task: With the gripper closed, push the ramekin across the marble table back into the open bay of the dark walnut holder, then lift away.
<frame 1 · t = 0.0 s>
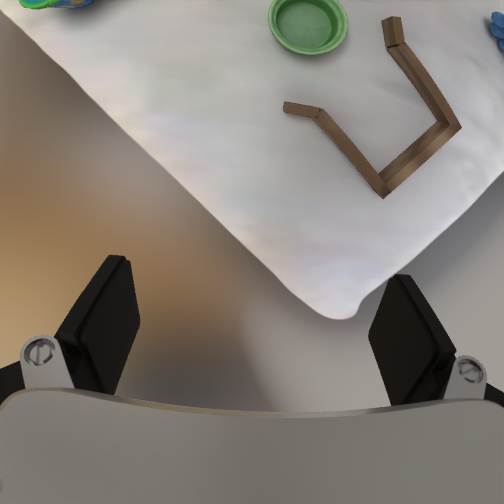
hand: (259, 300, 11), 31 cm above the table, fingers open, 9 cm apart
ramekin: (303, 26, 30), on the table
grapes: (501, 41, 27), on the table
walnut holder: (386, 116, 35), on the table
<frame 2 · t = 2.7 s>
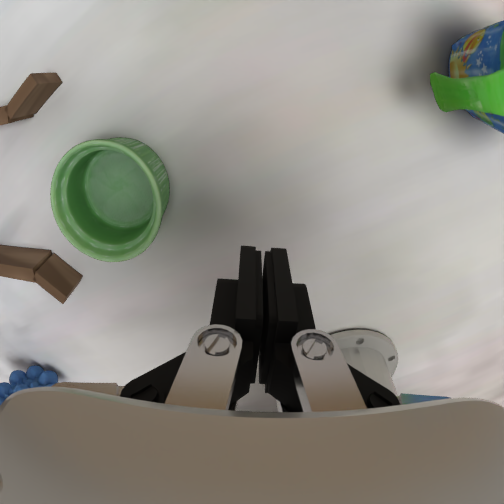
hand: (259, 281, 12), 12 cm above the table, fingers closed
ramekin: (124, 185, 23), on the table
snack cup: (475, 77, 17), on the table
grapes: (43, 370, 36), on the table
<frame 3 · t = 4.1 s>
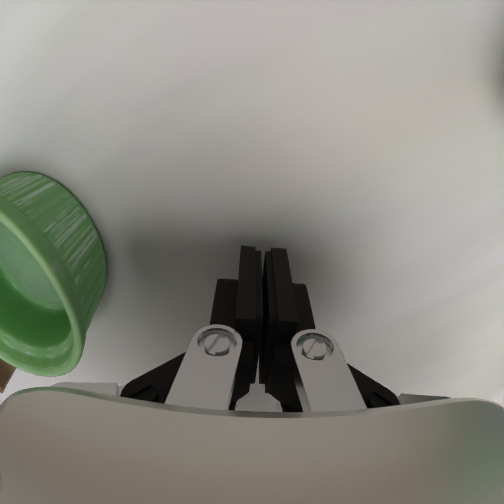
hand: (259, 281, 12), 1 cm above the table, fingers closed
ramekin: (43, 245, 13), on the table
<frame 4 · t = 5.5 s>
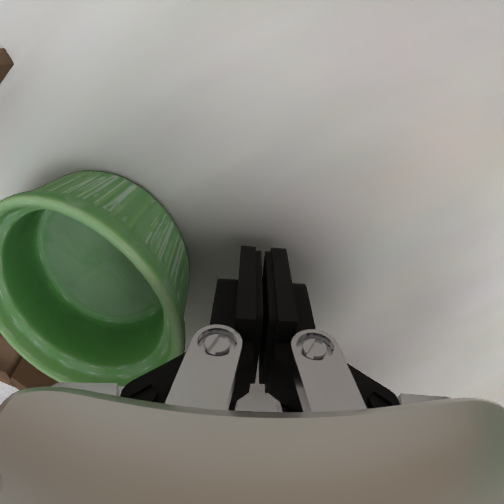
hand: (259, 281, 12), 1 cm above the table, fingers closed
ramekin: (106, 254, 13), on the table, touching gripper
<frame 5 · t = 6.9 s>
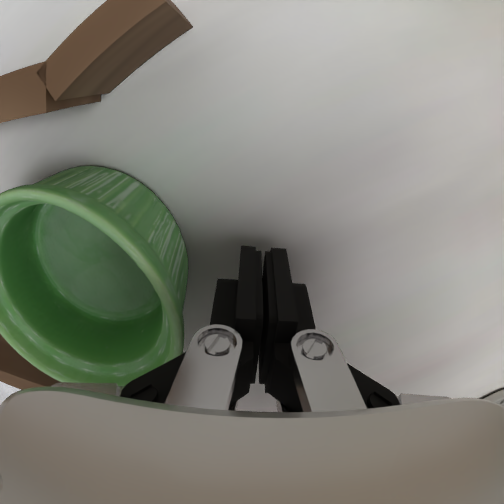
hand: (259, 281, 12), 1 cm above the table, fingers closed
ramekin: (104, 250, 13), on the table, touching gripper
walnut holder: (5, 246, 12), on the table
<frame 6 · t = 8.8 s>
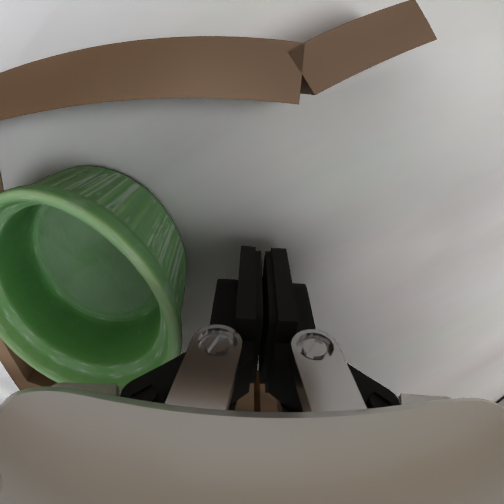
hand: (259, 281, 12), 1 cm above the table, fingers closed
ramekin: (102, 251, 13), on the table, touching gripper
walnut holder: (104, 254, 12), on the table
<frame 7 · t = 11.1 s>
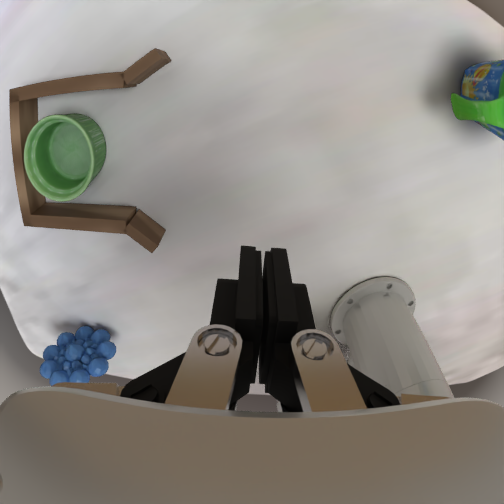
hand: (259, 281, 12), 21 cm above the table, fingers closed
ramekin: (76, 148, 28), on the table
snack cup: (479, 93, 25), on the table
grapes: (91, 331, 43), on the table
walnut holder: (76, 149, 28), on the table
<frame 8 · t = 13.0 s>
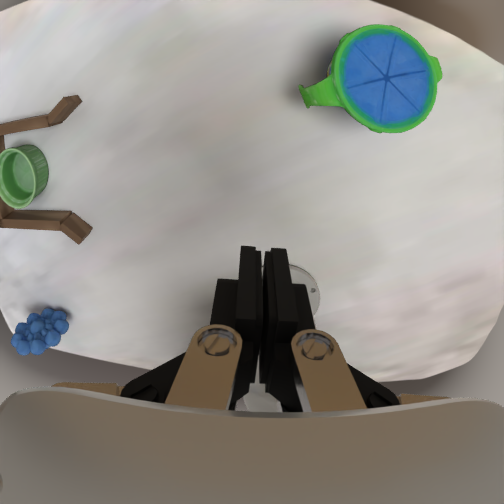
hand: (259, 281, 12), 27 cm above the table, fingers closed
ramekin: (31, 169, 36), on the table
snack cup: (355, 78, 31), on the table
grapes: (54, 313, 50), on the table
walnut holder: (30, 170, 36), on the table
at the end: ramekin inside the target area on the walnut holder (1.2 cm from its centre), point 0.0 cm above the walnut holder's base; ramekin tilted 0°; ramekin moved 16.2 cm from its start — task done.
